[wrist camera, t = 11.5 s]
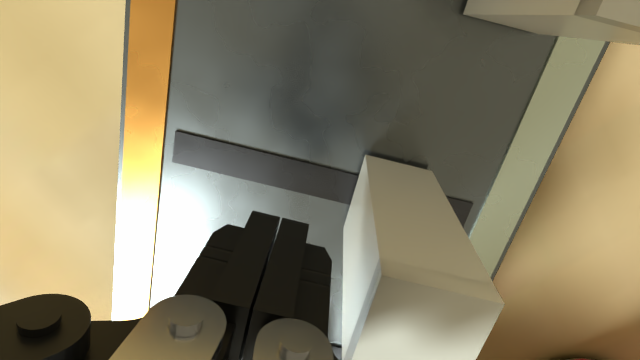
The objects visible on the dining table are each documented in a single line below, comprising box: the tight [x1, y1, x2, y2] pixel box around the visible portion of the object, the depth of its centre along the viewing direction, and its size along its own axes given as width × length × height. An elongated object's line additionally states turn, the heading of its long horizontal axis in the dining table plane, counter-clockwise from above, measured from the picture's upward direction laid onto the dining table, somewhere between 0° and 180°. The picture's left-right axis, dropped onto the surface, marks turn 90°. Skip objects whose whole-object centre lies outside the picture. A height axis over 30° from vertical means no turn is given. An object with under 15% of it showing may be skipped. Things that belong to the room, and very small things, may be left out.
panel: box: [112, 0, 610, 360], centre depth 17 cm, size 15×24×4 cm, turn 167°
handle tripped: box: [342, 155, 505, 360], centre depth 11 cm, size 2×3×7 cm
